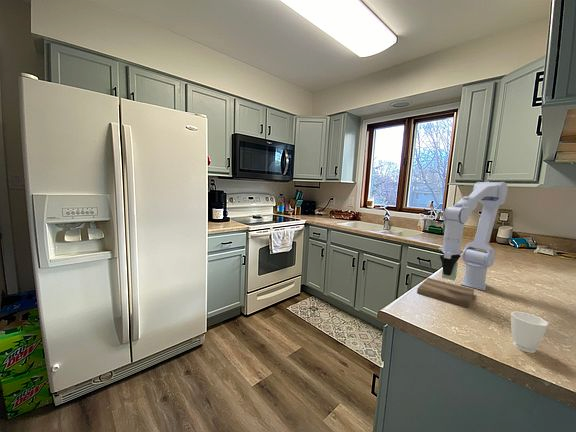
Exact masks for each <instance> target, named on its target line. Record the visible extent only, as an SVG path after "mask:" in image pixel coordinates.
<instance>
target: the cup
mask: <svg viewBox="0 0 576 432" xmlns="http://www.w3.org/2000/svg"><path fill="white" fill-rule="evenodd" d="M510 326H511V327H510V332H511V337H512V341H513V342H512V345H513V346H514V347H515V348H517V349H519V350H520V351H523V352H525V353H528V354H529V353H530V354H535V353H536V352H537V348H538V346H539V345H540V344H541V342H542V341H543V338H544V335H545V333H546V331H547V329H548V326H549V322H547V321H546V320H545V319H543V318H542V317H540V316H538V315H537V316H536V315H533V314H531V313H528V312H523V311H517V310H514V311H512V312H510Z"/></svg>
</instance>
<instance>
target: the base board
mask: <svg viewBox="0 0 576 432" xmlns="http://www.w3.org/2000/svg"><path fill="white" fill-rule="evenodd" d="M416 290H417V291H416V293H417V294H420V295H422V296H423V295H424V296H426V297H429V298H432V299H437V300H439V301H443V302H445V303H449V304H453V305H456V306H459V307H462V308H467V309H469V308H470V305H471V302H472V299H473V296H474V293H475V292H474V291H475V288H471V287H467V286H463V285H457V284H453V283H450V282H446V281H443V280H442V281H441V280H439V279H434V278H430V277H427V278H426V279H425V280H424V281H423V282H422V283H421V284H420V285H419V286H418V287H417V289H416Z"/></svg>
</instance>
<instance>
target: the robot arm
mask: <svg viewBox="0 0 576 432" xmlns="http://www.w3.org/2000/svg"><path fill="white" fill-rule="evenodd" d="M508 188H509V187H508V184H507V183H506V182H505V181H500V182H498V181H497V182H495V181H494V182H493V181H490V182H489V181H487V182H486V181H485V182H483V181H482V182H480V181H477V182H476V183H475V184H473V188H472V192H471V193H470V194H469V195H467V196H463V197H462V198H461V199H459V200H458V201H457V202H456V203H455V204H454V205H453V206H448V207H446V208H445V209H444V211H443V213H442V218H443V225H444V232H443V233H444V234H443V240H442V247H439V248H438V250H439V251H441V252H442V254H439V258H440V262H441V264H442V271H443V273H444V274H445V275H449V276H450V275H451V273H452V270H453V267H454V265H455V263H458V260H459V259H460V258H461V259H462V261H463V262H464V264H465V268H464V276H463V279H462V281H461V285H460V286H463V287H467V288H471V289H477V290H480V291H485V290H486V287H487V283H486V280H487V272H488V268H491V267H492V266H493V265H494V262H495V258H496V257H495V254H496V251H495V249H494V248H493V247H492V246H491V245H490V244H489V242H490V239H491V235H492V233H493V228H494V225H495V220H496V218H497V215H498V214H497V213H498V210H499V207H500V206H501V205H504V204H505V202H506V199H507V195H508V192H509V191H508ZM478 203H480V204H482V210H481V213H480V218H479V220H478V224H477V228H476V232H475V236H474V238H473V241H471V242H468V243H466V244H465V246H464V249H463V251H462V243H463V235H464V229H465V224H466V223H467V222H468V220H469V218H470V216H471V213H472V212H473V211H474V210H476V208H477V207H478Z"/></svg>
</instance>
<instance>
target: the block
mask: <svg viewBox="0 0 576 432" xmlns="http://www.w3.org/2000/svg"><path fill="white" fill-rule="evenodd" d="M458 267H459V263H458V262H456V263H455V265H454V267H453V270H452V273H451V275H450V276H449V275H445V274H444V273H443V270H442V272H441V273H442V274H441V278H442V279H446V280H451V281H455V280H456V278H457V273H458Z"/></svg>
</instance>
